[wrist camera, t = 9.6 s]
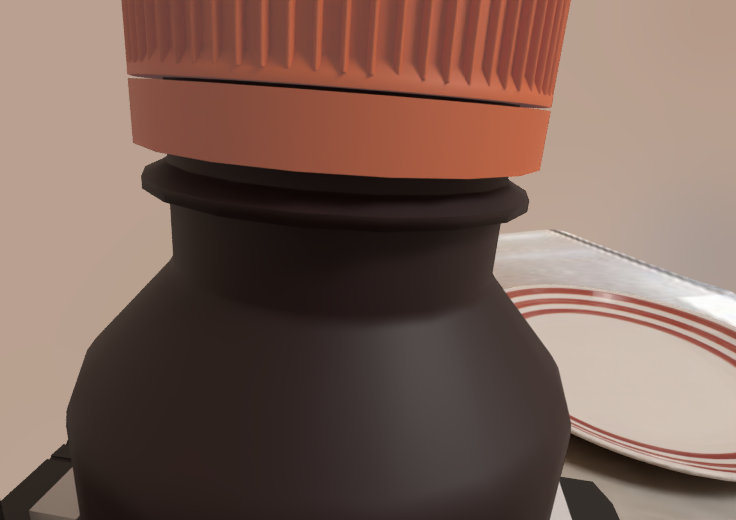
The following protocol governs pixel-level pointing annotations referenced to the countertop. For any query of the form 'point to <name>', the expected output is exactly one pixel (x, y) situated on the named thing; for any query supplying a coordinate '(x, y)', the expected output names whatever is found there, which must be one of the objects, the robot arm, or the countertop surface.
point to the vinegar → (329, 268)
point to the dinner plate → (641, 375)
